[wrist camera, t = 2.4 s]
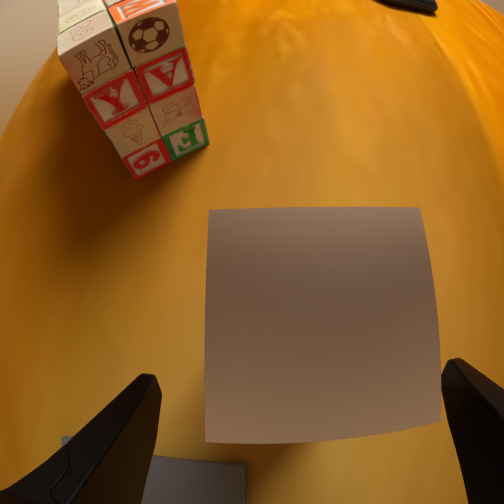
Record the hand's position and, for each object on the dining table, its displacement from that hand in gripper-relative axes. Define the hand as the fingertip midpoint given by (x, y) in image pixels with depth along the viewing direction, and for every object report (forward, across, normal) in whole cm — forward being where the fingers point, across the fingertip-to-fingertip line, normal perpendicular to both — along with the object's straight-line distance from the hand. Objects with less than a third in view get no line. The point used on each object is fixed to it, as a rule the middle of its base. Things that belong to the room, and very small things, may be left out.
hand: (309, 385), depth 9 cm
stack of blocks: (+24, +13, -10) cm, 28 cm away
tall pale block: (+7, 0, +5) cm, 9 cm away
